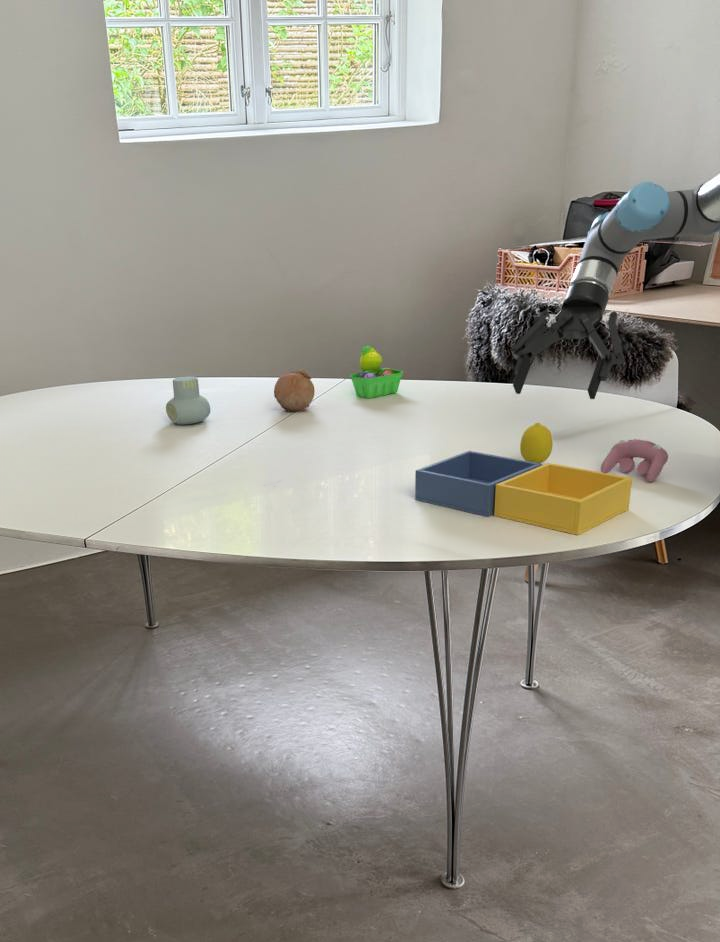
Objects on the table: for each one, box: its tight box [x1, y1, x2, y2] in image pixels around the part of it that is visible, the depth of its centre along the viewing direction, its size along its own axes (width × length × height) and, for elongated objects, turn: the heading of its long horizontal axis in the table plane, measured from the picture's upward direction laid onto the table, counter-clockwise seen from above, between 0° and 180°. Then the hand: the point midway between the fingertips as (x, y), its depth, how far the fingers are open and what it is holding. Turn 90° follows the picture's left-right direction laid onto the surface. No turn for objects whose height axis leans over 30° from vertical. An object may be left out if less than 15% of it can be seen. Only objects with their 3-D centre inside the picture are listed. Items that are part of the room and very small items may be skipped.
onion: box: [273, 369, 316, 412], centre depth 224 cm, size 10×9×10 cm
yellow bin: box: [493, 462, 633, 536], centre depth 147 cm, size 15×15×5 cm
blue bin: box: [414, 450, 543, 517], centre depth 157 cm, size 15×15×5 cm
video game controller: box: [600, 438, 669, 483], centre depth 162 cm, size 10×5×7 cm, turn 41°
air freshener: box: [165, 375, 211, 426], centre depth 220 cm, size 11×8×10 cm
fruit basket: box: [349, 345, 404, 399], centre depth 233 cm, size 11×9×11 cm
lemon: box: [519, 422, 554, 464], centre depth 169 cm, size 6×6×8 cm
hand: (552, 392), depth 171 cm, fingers open, 13 cm apart
